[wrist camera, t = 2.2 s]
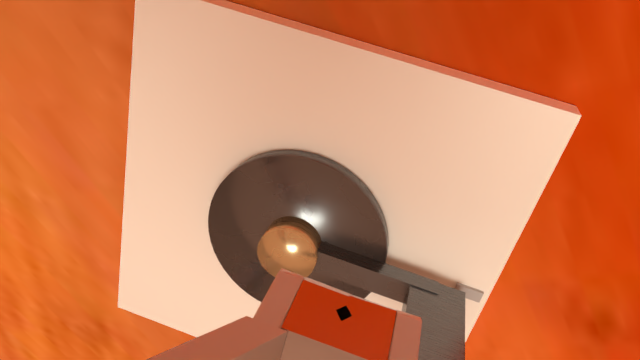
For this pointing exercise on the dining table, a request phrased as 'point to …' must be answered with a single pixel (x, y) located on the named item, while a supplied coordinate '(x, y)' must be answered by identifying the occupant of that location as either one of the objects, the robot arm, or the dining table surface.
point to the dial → (323, 241)
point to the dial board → (318, 151)
